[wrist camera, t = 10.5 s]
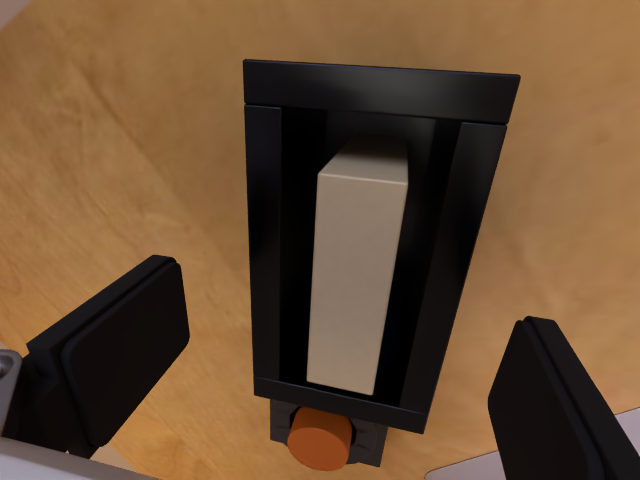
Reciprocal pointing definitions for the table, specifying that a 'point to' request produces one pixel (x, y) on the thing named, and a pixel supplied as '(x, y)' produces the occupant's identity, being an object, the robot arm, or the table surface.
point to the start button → (320, 439)
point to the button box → (363, 441)
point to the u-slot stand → (487, 471)
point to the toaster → (416, 230)
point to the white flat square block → (355, 259)
